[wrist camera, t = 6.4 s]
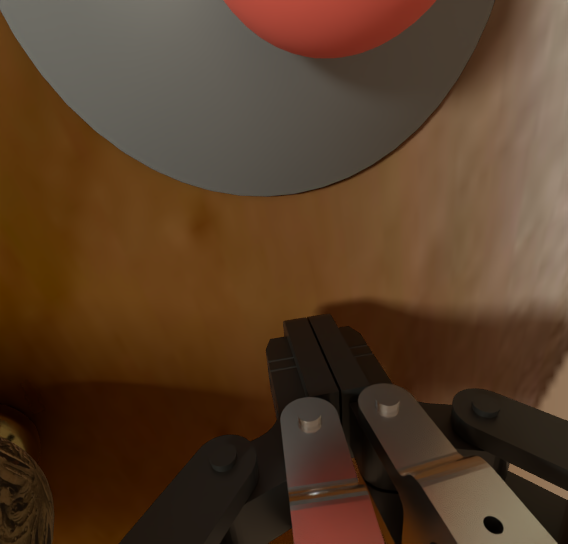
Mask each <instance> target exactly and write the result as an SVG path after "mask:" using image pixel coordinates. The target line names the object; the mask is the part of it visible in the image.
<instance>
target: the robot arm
mask: <svg viewBox="0 0 568 544" xmlns="http://www.w3.org/2000/svg"><path fill="white" fill-rule="evenodd" d="M283 326H284V337H280V338H274V339H270V341H269V343H268V346H267V348H266V356H267V364H268V372H269V380H270V388H271V393H272V398H273V403H274V408H275V412H276V418H277V421H276V423H275V424H274V426H273V427H272V428H271V429H270V430H269V431H268V432H267V433H265V434H264V435H262V436H260V437H259V438H257V439H255V440H253V441H251V442H250V441H248V440H247V439H246V438H244V437H241V436H238V435H223V436H219V437H216V438H214V439H212V440H210V441H208V442H207V443H205V444H204V445H203V446H202V447H201V448H200V449H199V450H198V451H197V452H196V454H195V455H194V456H193V457H192V458H191V459H190V461H189V462H188V463H187V464H186V465H185V466H184V468H183V469H182V470H181V471H180V472H179V473H178V475H177V476H176V477H175V478H174V479H173V481H172V482H171V483H170V484H169V485H168V486H167V488H166V489H165V490H164V491H163V492H162V493H161V495H160V496H159V497H158V498H157V499H156V500H155V502H154V503H153V504H152V505H151V506H150V508H149V509H148V510H147V511H146V512H145V513H144V515H143V516H142V517H141V518H140V519H139V520H138V522H137V523H136V524H135V525H134V526H133V528H132V529H131V530H130V531H129V532H128V533H127V535H126V536H125V537H124V538H123V539H122V540H121V542H120V543H119V544H268V543H269V542H271V541H272V540H274V539H275V538H277V537H278V536H280V535H282V534H283V533H285V532H286V531H288V530H289V529H291V528H292V530H293V539H294V544H384V541H383V537H382V534H383V536H384V538H385V540H386V542H387V544H568V500H566V499H564V498H562V497H560V496H558V495H556V494H554V493H552V492H550V491H548V490H546V489H544V488H542V487H540V486H538V485H536V484H534V483H532V482H530V481H528V480H526V479H524V478H522V477H520V476H518V475H516V474H514V473H511V472H510V471H508V468H509V463H511V464H513V465H515V466H517V467H519V468H521V469H523V470H525V471H527V472H529V473H532V474H534V475H536V476H538V477H540V478H542V479H544V480H546V481H548V482H550V483H552V484H554V485H556V486H558V487H560V488H563V489H565V490H567V491H568V421H567V420H564V419H561V418H559V417H556V416H553V415H551V414H549V413H546V412H543V411H541V410H538V409H536V408H533V407H531V406H528V405H525V404H523V403H520V402H518V401H515V400H513V399H510V398H507V397H505V396H502V395H500V394H497V393H495V392H492V391H488V390H484V389H466V390H463V391H460V392H459V393H457V394H456V395H455V396H454V398H453V403H452V405H445V404H430V403H423V402H418V401H416V399H415V398H414V397H413V396H412V395H411V394H410V393H409V392H408V391H407V390H405V389H403V388H401V387H399V386H396V385H393V384H392V382H391V381H390V379H389V378H388V376H387V375H386V373H385V371H384V370H383V368H382V367H381V365H380V364H379V362H378V361H377V359H376V357H375V356H374V354H372V351H371V350H370V348H369V347H368V346H367V343H366V342H365V340H364V339H363V337H362V336H361V334H360V333H358V332H357V331H355V330H354V329H352V328H351V327H349V326H346V327H340V328H338V327H337V325H336V323H335V322H334V320H333V318H332V316H331V315H330V314H323V315H317V316H311V317H307V318H306V317H305V318H299V319H293V320H287V321H284V322H283ZM351 458H355V460H356V463H357V465H358V478H359V482H358V479H357V475H356V472H355V469H354V465H353V462H352V459H351ZM379 527H380V528H379ZM380 530H381V531H380ZM381 532H382V534H381Z"/></svg>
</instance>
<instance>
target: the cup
mask: <svg viewBox="0 0 568 544" xmlns="http://www.w3.org/2000/svg"><path fill="white" fill-rule="evenodd" d="M40 451H41V446H40V437H39V434H38V431H37V429H36V427H35V425H34V424H33V423H32V422H31V420H30V419H29V418H27V417H26V416H25V415H24V414H22V413H21V412H19V411H18V410H16V409H13V408H11V407H9V406H6V405H2V404H0V544H52V541H53V530H54V506H53V498H52V493H51V490H50V487H49V484H48V481H47V478H46V477H45V475H44V473H43V471H42V470H41V468H40V467H39V465H38V463H39V460H40Z"/></svg>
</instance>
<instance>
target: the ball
mask: <svg viewBox="0 0 568 544" xmlns="http://www.w3.org/2000/svg"><path fill="white" fill-rule="evenodd" d="M223 1H224V2H225V3H226V4H227V6H228V7H229V8H230V10H231V11H232V12H233V13H234V14H235V15H236V16H237V17H238V18H239V19H240V20H241V21H242V22H243V24H244V25H245V26H246V27H248V28H249V29H250V30H251V31H253V32H254V33H255V34H256V35H258V36H259V37H260V38H262V39H263V40H265V41H267V42H268V43H270V44H272V45H274V46H275V47H277V48H280V49H282V50H285V51H287V52H290V53H292V54H296V55H301V56H305V57H310V58H340V57H346V56H352V55H356V54H360V53H363V52H365V51H368V50H370V49H373V48H375V47H378V46H380V45H382V44H384V43H385V42H387V41H389V40H391V39H392V38H394V37H396V36H397V35H399V34H400V33H401V32H403V31H404V30H405V29H407V28H408V27H409V26H411V25H412V24H413V23H415V22H416V21H417V20H418V19H419V18H420V17H421V16H422V15H423V14H424V13H425V12H426V11H427V10H428V9H429V8H430V7H431V6H432V5H433V4H434V3H435V1H436V0H223Z"/></svg>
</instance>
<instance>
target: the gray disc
mask: <svg viewBox="0 0 568 544" xmlns="http://www.w3.org/2000/svg"><path fill="white" fill-rule="evenodd" d="M494 1H495V0H436V1H435V3H434V4H433V5H432V6H431V7H430V8H429V9H428V10H427V11H426V12H425V13H424V14H423V15H422V16H421V17H420V18H419V19H418V20H417V21H416V22H415V23H413V24H412V25H411V26H409V27H408V28H407V29H405V30H404V31H403V32H401V33H400V34H399V35H397V36H396V37H394V38H392V39H391V40H389V41H387V42H385V43H384V44H382V45H380V46H378V47H375V48H373V49H370V50H368V51H365V52H363V53H360V54H356V55H352V56H346V57H340V58H310V57H305V56H301V55H296V54H292V53H290V52H287V51H285V50H282V49H280V48H277V47H275V46H274V45H272V44H270V43H268V42H267V41H265V40H263V39H262V38H260V37H259V36H258V35H256V34H255V33H254V32H253V31H251V30H250V29H249V28H248V27H246V26H245V25H244V24H243V22H242V21H241V20H240V19H239V18H238V17H237V16H236V15H235V14H234V13H233V12H232V11H231V10H230V8H229V7H228V6H227V4H226V3H225V2H224V1H223V0H0V10H1V12H2V14H3V16H4V17H5V19H6V21H7V23H8V25H9V26H10V28H11V30H12V32H13V34H14V35H15V37H16V39H17V40H18V42H19V43H20V44H21V46H22V47H23V49H24V50H25V52H26V53H27V55H28V56H29V57H30V59H31V60H32V62H33V63H34V65H35V66H36V68H37V69H38V70H39V72H40V73H41V74H42V76H43V77H44V78H45V79H46V80H47V81H48V83H49V84H50V85H51V86H52V87H53V88H54V90H55V91H56V92H57V93H58V94H59V95H60V97H61V98H62V99H63V100H64V101H65V102H66V104H67V105H68V106H69V107H71V108H72V109H73V110H74V111H75V112H76V113H77V114H78V115H79V116H80V117H81V118H82V119H83V120H84V121H85V122H86V123H88V124H89V125H90V126H91V127H92V128H93V129H94V130H95V131H96V132H98V133H99V134H100V135H102V136H103V137H104V138H106V139H107V140H108V141H110V142H111V143H112V144H114V145H115V146H116V147H118V148H119V149H120V150H121V151H123V152H124V153H126V154H128V155H129V156H131V157H133V158H134V159H136V160H138V161H140V162H141V163H143V164H145V165H146V166H148V167H150V168H152V169H153V170H156V171H158V172H160V173H162V174H165V175H167V176H169V177H172V178H174V179H176V180H178V181H181V182H184V183H187V184H190V185H194V186H197V187H200V188H204V189H207V190H210V191H216V192H222V193H228V194H234V195H243V196H276V195H286V194H296V193H300V192H304V191H309V190H313V189H317V188H321V187H324V186H327V185H330V184H332V183H335V182H338V181H340V180H343V179H346V178H348V177H350V176H352V175H354V174H356V173H358V172H360V171H361V170H363V169H365V168H367V167H369V166H371V165H373V164H374V163H376V162H377V161H378V160H380V159H381V158H383V157H384V156H386V155H387V154H388V153H390V152H391V151H393V150H394V149H396V148H397V147H398V146H399V145H400V144H401V143H402V142H404V141H405V140H406V139H407V138H408V137H409V136H410V135H411V134H413V133H414V132H415V131H416V130H417V129H418V128H419V127H420V126H421V125H422V124H423V123H424V121H425V120H426V119H427V118H428V117H429V116H430V115H431V114H432V113H433V111H434V110H435V109H436V108H437V107H438V106H439V105H440V103H441V102H442V100H443V99H444V98H445V96H446V95H447V93H448V92H449V91H450V89H451V88H452V86H453V85H454V84H455V82H456V81H457V80H458V78H459V76H460V74H461V73H462V71H463V69H464V67H465V66H466V64H467V62H468V60H469V59H470V57H471V55H472V53H473V52H474V50H475V48H476V45H477V43H478V41H479V39H480V37H481V34H482V32H483V30H484V28H485V25H486V23H487V21H488V19H489V16H490V13H491V10H492V7H493V4H494Z"/></svg>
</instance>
